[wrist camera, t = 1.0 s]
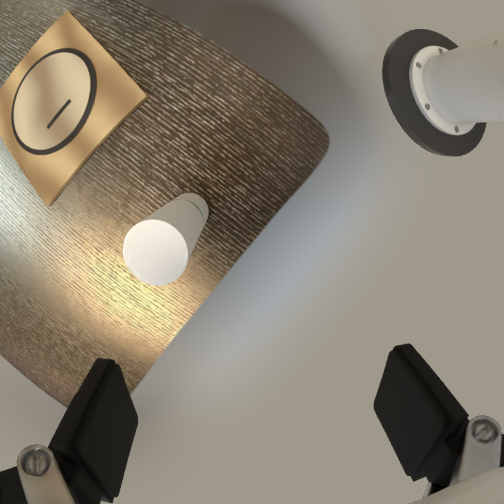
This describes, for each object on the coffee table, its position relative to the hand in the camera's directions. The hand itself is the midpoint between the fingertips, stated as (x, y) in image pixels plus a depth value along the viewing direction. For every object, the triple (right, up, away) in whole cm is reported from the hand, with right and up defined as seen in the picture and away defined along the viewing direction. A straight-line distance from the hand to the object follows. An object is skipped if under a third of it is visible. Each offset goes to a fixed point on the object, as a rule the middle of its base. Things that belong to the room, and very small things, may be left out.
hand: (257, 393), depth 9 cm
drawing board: (-25, +23, +17) cm, 38 cm away
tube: (-7, +9, +23) cm, 26 cm away
